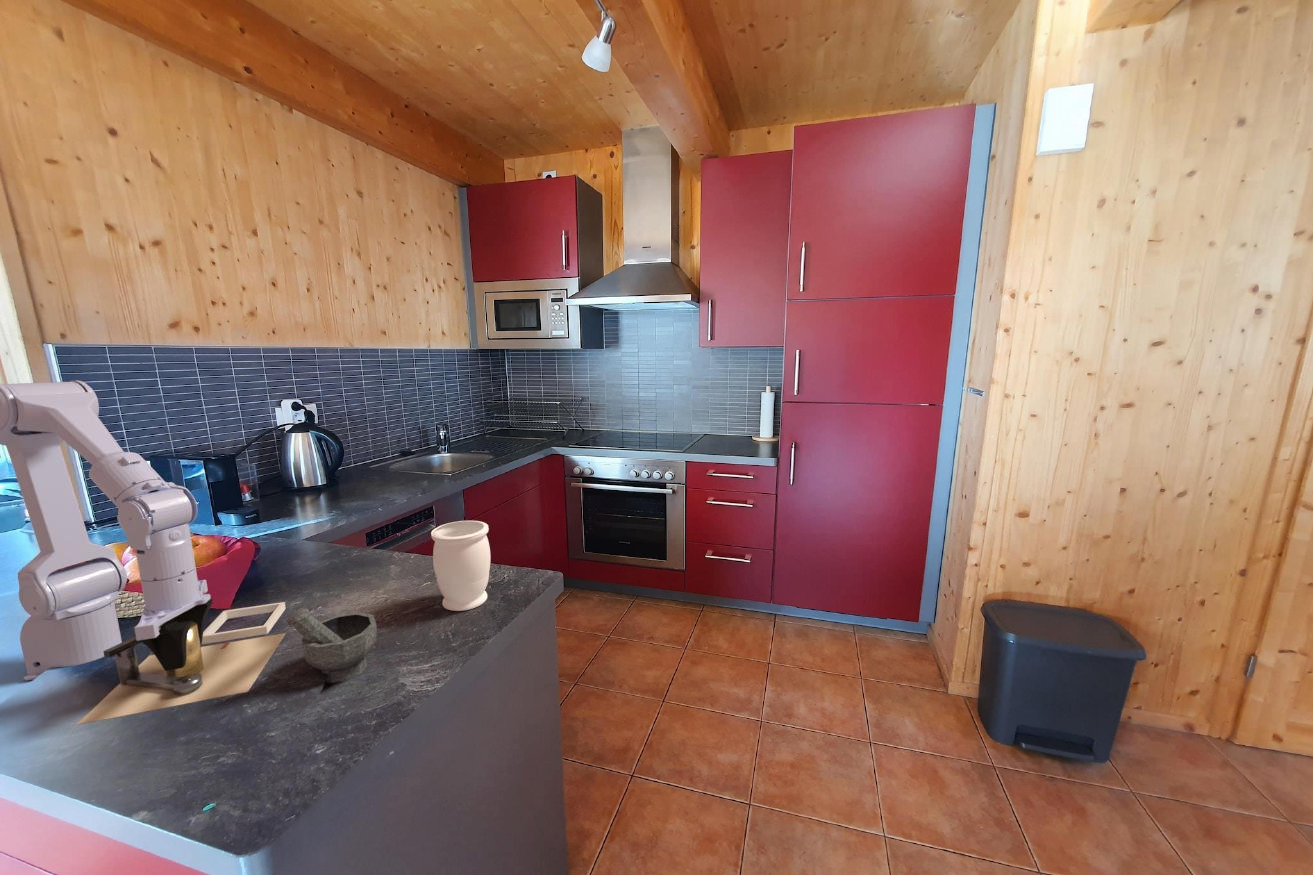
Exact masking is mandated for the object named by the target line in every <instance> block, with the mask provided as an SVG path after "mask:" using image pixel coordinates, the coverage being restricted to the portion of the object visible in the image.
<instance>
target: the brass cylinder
mask: <svg viewBox="0 0 1313 875" xmlns="http://www.w3.org/2000/svg"><path fill="white" fill-rule="evenodd" d="M201 647H202V645H201V646H200V640H199V634H198V628H197V623H195V622H192V624H191V626H190V628H189V631H188V635H187V642H186V663H185V666H184V667H183V668H179V669H174V670H168V671H166V676H174V677H183V676H186V675H189V674H193V673H199V672H201V671H202V670H203V668H204V665H203V659H202V653H201Z"/></svg>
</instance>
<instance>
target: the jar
mask: <svg viewBox="0 0 1313 875" xmlns="http://www.w3.org/2000/svg"><path fill="white" fill-rule="evenodd" d="M489 530H490V528H489V524H487V523H486V522H484V521H479V520H459V521H453V522H448V523H445V524H441V525H439V526H437V527H436V528H434V529H433V530H432V531H431V535H430V536H431V539H432V540H433V541H434V544H433V553H432V562H433V570H434V574H435V577H436V581H437V585H438V588H439V591H440V593H441V594H442V596H443V599H442V604H441V605H442V606H443V608H444V609H446V610H449V611H453V612H462V611H468V610H472V609H474V608H477V607H479V606H481V605H483V604H484V603H485V602H486V601H487V599H488V593H487V591H486V588H487V586H488V583H489V578H490V570H491V548H490V543H489V539H488V536H487V534H488V533H489Z"/></svg>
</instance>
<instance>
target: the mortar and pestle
mask: <svg viewBox="0 0 1313 875" xmlns="http://www.w3.org/2000/svg"><path fill="white" fill-rule="evenodd" d="M286 620H287V621H286V623H287V626H289V627H290V628H291V627H292V628H294V629H295V630H296V631H297V632H298V633H299V634H301V646H302V651H303V652H302V653H303V656H304V659H305V661H306V662H307V663H308V664H309V665H310V666H311V667H312V668H313V669H318V670H321V673H322V674H325V675H327V677H326V679H325V682H326V683H330V684H333V683H339V682H344V681H349V680H351V679H353V678H354V677H356V676H358V675H360V674H362V672H363V671H364V670H365V669H367V667H368V663H367V658H366V656H367V655H368V654H369V653H370V652H371V651H372V650H373V648H374V646H375V644H376V641H377V634H378V630H377V629H378V628H377V622H376V619H375V616H374V614H369V613H364V612H359V611H358V612H351V613H345V614H343V613H342V614H337V615H334V616H332V617H329V618H326V619H324V620H322V621H319V620H317V618H315V617H314V616H313V615H312V614H310V611H309V609H307V607H300V608H299V609H296V610H294V612H292V613H291V614H290V616H288V619H286Z"/></svg>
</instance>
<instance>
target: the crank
mask: <svg viewBox="0 0 1313 875" xmlns="http://www.w3.org/2000/svg"><path fill="white" fill-rule="evenodd" d="M141 643H142V642H141V641H139V640H138V641H137V640H136V637H135V636H132V637H131V638H129V639H127V640H125V641H122V643H120V644H118V645H116V646H114V647H111V648H109V649H107V650H105V651H103V652H104V658H105V657H106V658H111V657H115V663H116V668H117V673H118V677H119V678H118V679H119V684H121V685H127V684H128V685H136V686H144V687H152V688H160V689H168V690H173V691H174V694H176V695H181V694H186V693H189V692H192V691H194V690H196V689H198V688H199V687H200V686H201V685H202V684H203V681H202V675H201V674H200V673H193V674H189V675H186V676H183V677H174V676H166V675H158V674H149V673H141V672H139V661H138V657H137V651H136V646H137V645H139V644H141Z"/></svg>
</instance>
